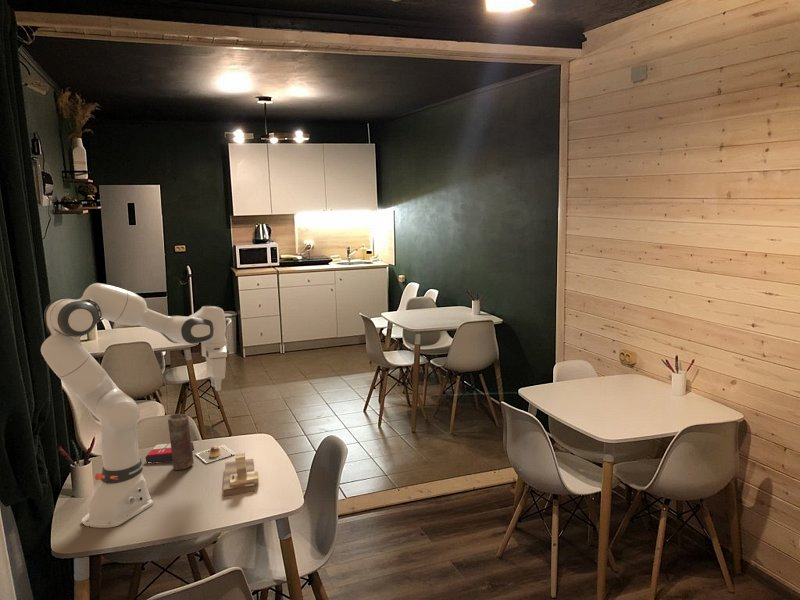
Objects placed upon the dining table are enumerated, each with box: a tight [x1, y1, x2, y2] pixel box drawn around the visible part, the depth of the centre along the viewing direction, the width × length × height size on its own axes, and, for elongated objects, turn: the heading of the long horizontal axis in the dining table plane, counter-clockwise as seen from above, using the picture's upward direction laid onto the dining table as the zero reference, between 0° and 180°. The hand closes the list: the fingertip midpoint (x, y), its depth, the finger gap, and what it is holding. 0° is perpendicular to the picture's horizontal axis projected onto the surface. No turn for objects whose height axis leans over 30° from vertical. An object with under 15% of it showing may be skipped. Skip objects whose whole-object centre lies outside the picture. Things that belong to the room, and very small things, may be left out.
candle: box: [167, 413, 195, 471], centre depth 235 cm, size 8×7×20 cm
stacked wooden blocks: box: [230, 451, 260, 486], centre depth 216 cm, size 6×9×10 cm, turn 103°
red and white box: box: [144, 441, 195, 464], centre depth 246 cm, size 11×4×15 cm
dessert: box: [194, 444, 237, 464], centre depth 245 cm, size 12×12×5 cm
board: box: [222, 458, 256, 497], centre depth 223 cm, size 22×10×2 cm, turn 13°
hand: (216, 388), depth 228 cm, fingers open, 8 cm apart
